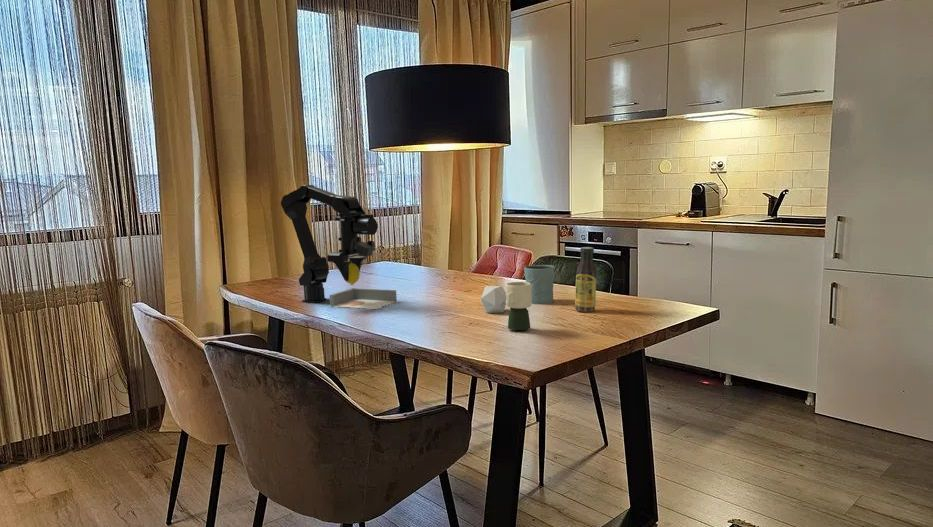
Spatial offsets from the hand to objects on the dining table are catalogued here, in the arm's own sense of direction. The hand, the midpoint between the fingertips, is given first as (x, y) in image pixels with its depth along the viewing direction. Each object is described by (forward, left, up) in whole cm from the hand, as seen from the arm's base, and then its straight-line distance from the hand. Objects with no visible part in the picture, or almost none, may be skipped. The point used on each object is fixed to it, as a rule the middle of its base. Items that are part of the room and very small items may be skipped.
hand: (351, 279), depth 213 cm
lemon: (0, 0, -2) cm, 2 cm away
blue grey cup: (+60, +22, -9) cm, 65 cm away
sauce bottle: (+78, +12, -9) cm, 80 cm away
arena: (+3, +2, -9) cm, 10 cm away
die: (+51, +3, -9) cm, 52 cm away
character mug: (+66, -17, -9) cm, 69 cm away
